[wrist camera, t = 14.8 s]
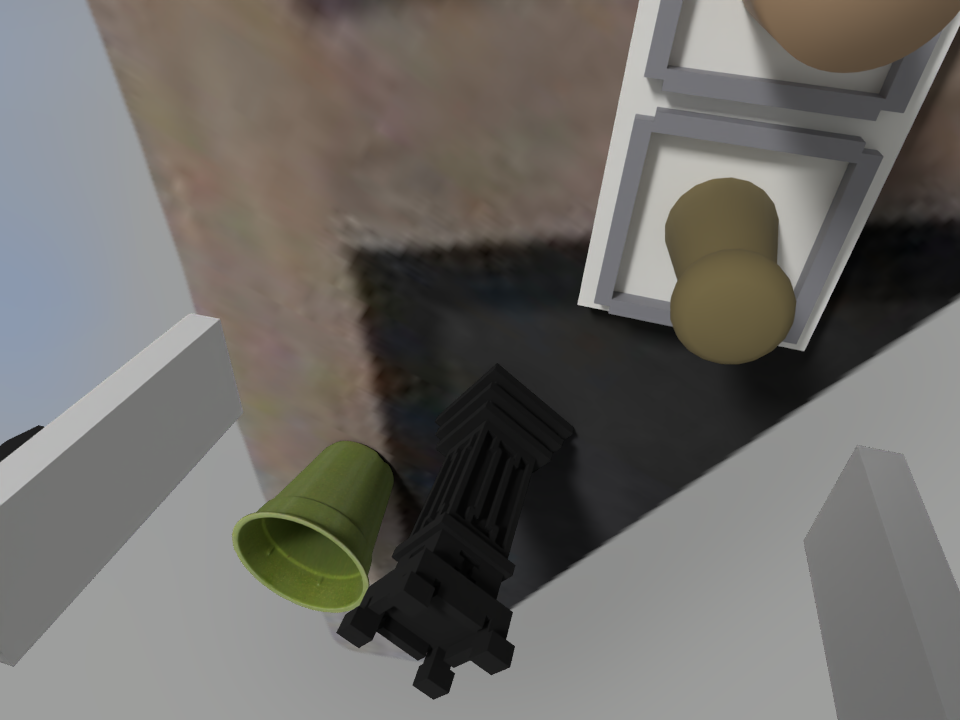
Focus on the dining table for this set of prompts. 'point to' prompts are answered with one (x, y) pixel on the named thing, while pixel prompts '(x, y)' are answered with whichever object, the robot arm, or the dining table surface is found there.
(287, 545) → the plant pot
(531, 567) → the dining table surface
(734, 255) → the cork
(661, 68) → the pin board
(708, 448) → the dining table surface
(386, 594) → the chess piece
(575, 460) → the dining table surface
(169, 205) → the dining table surface
